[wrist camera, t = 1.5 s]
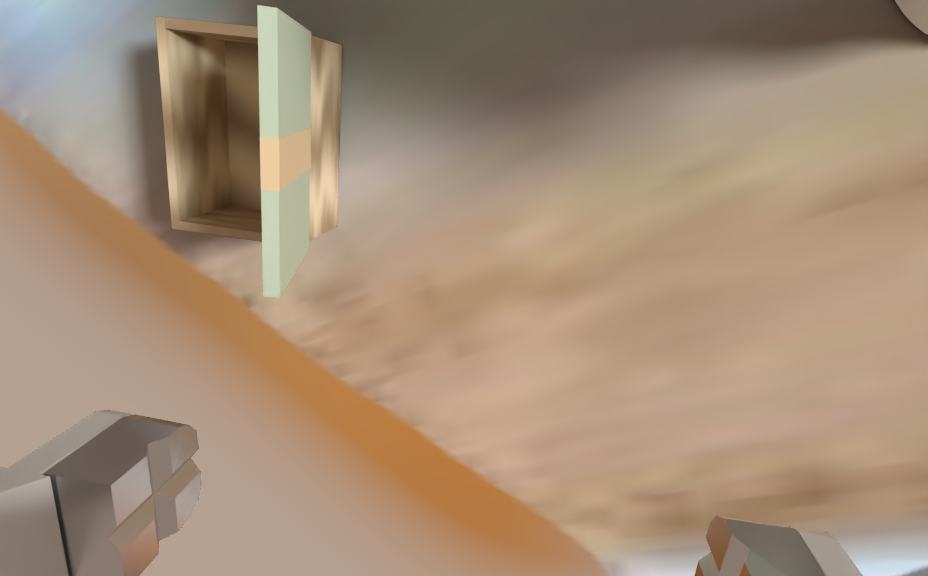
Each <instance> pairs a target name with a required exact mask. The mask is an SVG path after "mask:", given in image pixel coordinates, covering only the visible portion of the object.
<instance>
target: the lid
mask: <svg viewBox="0 0 928 576" xmlns="http://www.w3.org/2000/svg"><path fill="white" fill-rule="evenodd" d="M257 17H258V66H259V115H260V177H261V213H262V262H263V297H280V296H281V295H282V293H283V291H284V290H285V288H286V286H287V285H288V283H289V281H290V280H291V278H292V276H293V275H294V273H295V271H296V270H297V268H298V266H299V265H300V263H301V261H302V260H303V258H304V256H305V255H306V253H307V251H308V250H309V205H310V167H311V127H310V105H311V32H310V31H309V30H307V29H306V28H305V27H303V26H302V25H301V24H299V23H298V22H296V21H295V20H294V19H292V18H291V17H289V16H288V15H287V14H285V13H284V12H282V11H281V10H280V9H278V8H276V7H268V6H261V5H257Z"/></svg>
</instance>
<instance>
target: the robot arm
mask: <svg viewBox="0 0 928 576" xmlns="http://www.w3.org/2000/svg"><path fill="white" fill-rule="evenodd" d="M895 1H896V3H897V5H898V7H899V8H900V9H901V11H902V12H903V14H904V15H905V16H906V17H907V18H908V19H909V20H910V21H911V22H912V23H913V24H914V25H915V26H916V27H917V28H918V29H920V30H921V31H922V32H924V33H925V34H927V35H928V0H895ZM198 448H199V447H198V440H197V432H196V430H195V429H193V428H192V427H191V426H190V425H186V424H181V423H176V422H171V421H165V420H161V419H155V418H150V417H145V416H139V415H131V414H128V413H123V412H117V411H111V410H101V411H95V412H94V413H92V414H90V415H89V416H87V417H86V418H84V419H83V420H81V421H80V422H78V423H77V424H75V425H73V426H72V427H70V428H69V429H67V430H66V431H64V432H63V433H61V434H60V435H58V436H56V437H55V438H53V439H52V440H50V441H49V442H47V443H46V444H44V445H43V446H41V447H39V448H38V449H36V450H35V451H33V452H32V453H30V454H29V455H27V456H26V457H24V458H23V459H21V460H19V461H18V462H16V463H15V464H13V465H12V466H10V467H9V468H4V467H0V576H139V575H140V574H141V573H142V572H143V571H144V570H145V568H146V567H147V566H148V565H149V564H150V563H151V562H152V561H153V559H154V558H155V557H156V556H157V555H158V550H159V541H160V540H162V539H164V538H166V537H168V536H170V535H172V534H174V533H176V532H178V531H179V530H180V528H182V526H183V525H184V524H185V523H186V521H187V520H188V519H189V518H190V517H191V514H192V512H193V510H194V508H195V506H196V504H197V501H198V500H199V495H200V489H201V472H200V470H199V469H198V467H197V466H196V465H195V463H194V462H193V460H192V459H191V457H192V456H193V455H194V453H195V452H196V451H197V450H198ZM706 539H707V542H708V544H709V547H710V550H711V552H710V553H709V554H708V555H706V556H705V557H703V558H702V559H701V560H699V561H698V565H697V569H696V573H695V576H862V574H861V573H860V571H859V570H858V569H857V567H856V566H855V564H854V563H853V562H852V560H851V559H850V557H849V556H848V554H847V553H846V552H845V550H844V549H843V547H842V546H841V545H840V543H839V542H838V540H837V539H836V538H835V537H833V536H832V535H831V534H829V533H828V532H826V531H819V530H812V529H805V528H798V527H791V526H789V527H783V526H777V525H771V524H765V523H759V522H753V521H747V520H741V519H735V518H729V517H723V516H717V515H716V516H715V517H714V518H713V520H712V521H711V523H710V525H709V528H708V531H707V534H706Z"/></svg>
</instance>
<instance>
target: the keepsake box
mask: <svg viewBox="0 0 928 576" xmlns="http://www.w3.org/2000/svg"><path fill="white" fill-rule="evenodd" d="M155 20H156V33H157V45H158V58H159V71H160V84H161V97H162V109H163V122H164V135H165V148H166V161H167V174H168V186H169V199H170V212H171V225H172V229H178V230H185V231H192V232H198V233H205V234H212V235H219V236H226V237H232V238H239V239H246V240H253V241H260V242H262V213H261V177H260V115H259V66H258V27H255V26H246V25H236V24H226V23H216V22H206V21H197V20H187V19H177V18H167V17H158V16H155ZM341 77H342V45H339V44H336V43H333V42H330V41H327V40H324V39H321V38H318V37H315V36H312V35H311V105H310V127H311V167H310V205H309V241H310V240H312V239H314V238H316V237H318V236H319V235H321V234H323V233H325V232H327V231H329V230H331V229H332V228H334V227H336V226H337V220H338V184H339V148H340V113H341Z"/></svg>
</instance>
